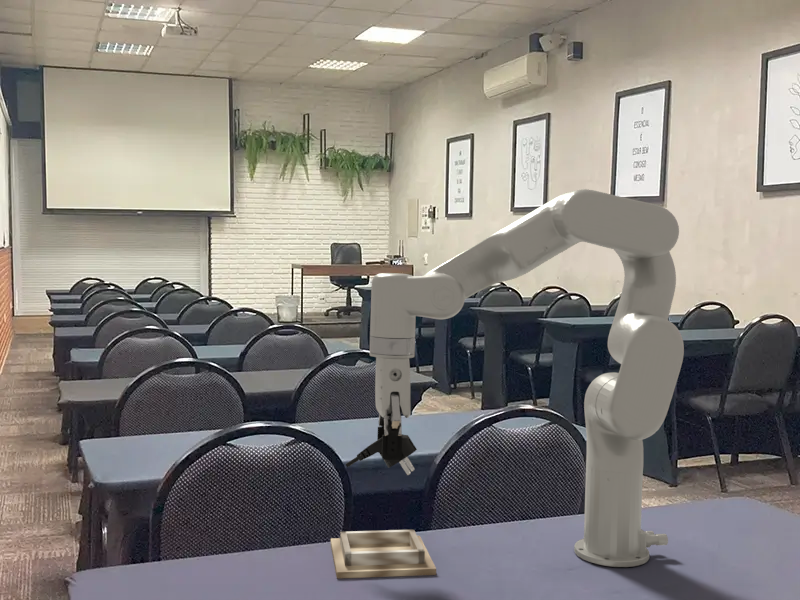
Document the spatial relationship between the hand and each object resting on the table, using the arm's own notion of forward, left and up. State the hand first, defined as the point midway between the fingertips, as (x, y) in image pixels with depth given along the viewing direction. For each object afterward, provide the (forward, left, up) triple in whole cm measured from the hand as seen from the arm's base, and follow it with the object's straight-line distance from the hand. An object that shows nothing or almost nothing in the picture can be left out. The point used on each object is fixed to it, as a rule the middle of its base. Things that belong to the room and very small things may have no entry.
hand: (389, 453), depth 142 cm
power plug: (+1, -1, -3) cm, 4 cm away
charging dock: (+1, 0, -18) cm, 18 cm away
